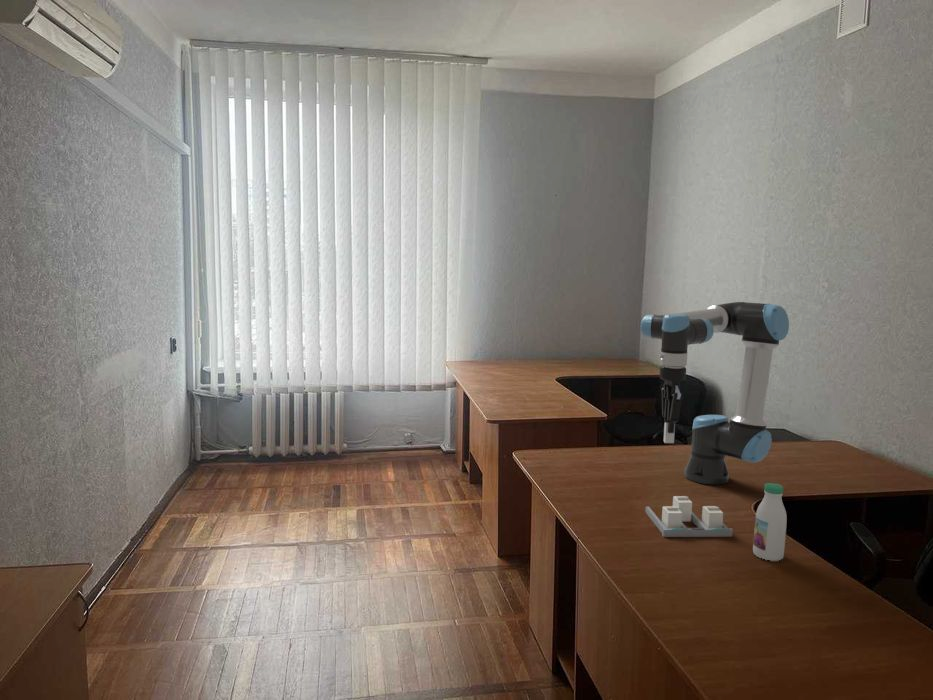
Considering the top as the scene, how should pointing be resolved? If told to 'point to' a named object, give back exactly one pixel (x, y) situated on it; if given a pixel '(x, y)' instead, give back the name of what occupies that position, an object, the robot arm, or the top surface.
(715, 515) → the white rectangular block
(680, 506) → the white ridged block
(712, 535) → the switch board
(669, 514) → the white block with handle
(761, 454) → the robot arm
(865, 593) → the top surface
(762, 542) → the milk bottle
